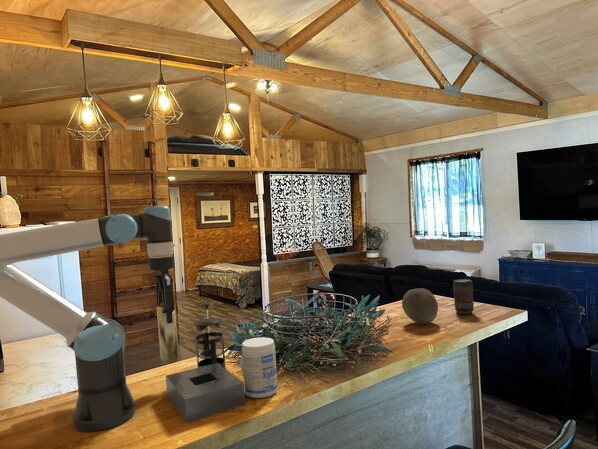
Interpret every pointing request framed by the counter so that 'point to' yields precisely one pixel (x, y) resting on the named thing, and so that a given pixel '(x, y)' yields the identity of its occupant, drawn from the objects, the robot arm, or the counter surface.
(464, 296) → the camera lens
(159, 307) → the end plug
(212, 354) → the french press
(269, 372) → the supplement tub
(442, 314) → the counter surface
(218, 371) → the housing
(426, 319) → the cantaloupe
